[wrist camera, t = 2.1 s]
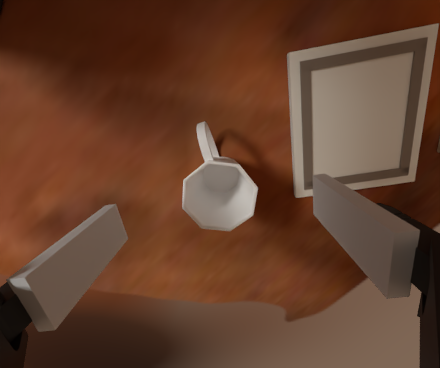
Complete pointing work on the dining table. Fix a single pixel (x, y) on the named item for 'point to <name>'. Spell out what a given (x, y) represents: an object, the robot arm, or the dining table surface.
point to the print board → (360, 108)
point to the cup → (218, 189)
